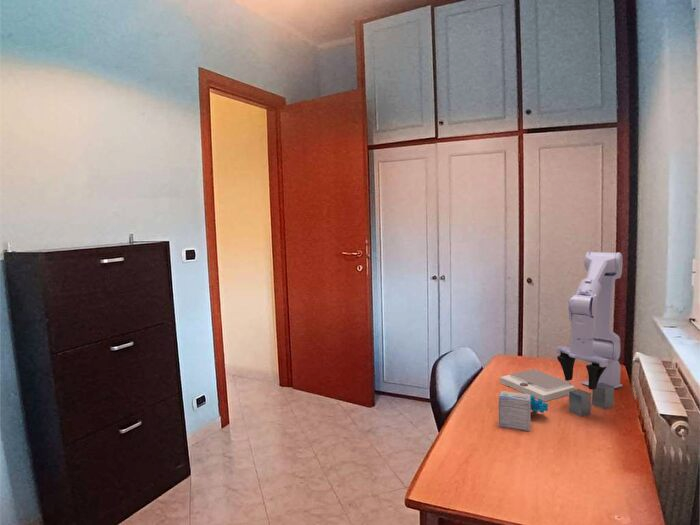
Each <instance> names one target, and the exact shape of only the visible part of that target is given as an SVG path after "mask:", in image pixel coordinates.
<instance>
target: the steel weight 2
mask: <svg viewBox="0 0 700 525" xmlns="http://www.w3.org/2000/svg"><path fill="white" fill-rule="evenodd" d="M591 391H592V392H591V405H592V406H596V407H598V408H600V409H603V410H607V409H611V408H614V406H615V388H614V386H611V385H608V384H605V383H602V382H601V383H598V384H597V387H596V389H593V390H591Z"/></svg>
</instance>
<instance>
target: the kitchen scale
mask: <svg viewBox="0 0 700 525" xmlns="http://www.w3.org/2000/svg"><path fill="white" fill-rule="evenodd" d="M499 383H500V384H502V385H504V386H506V387H508V386H509V387H508V388H510V389H513V390H515V389H516V390H515V391H518V392H519V393H524V394H529V395H532V396H535V400H538V399H542V400H543V403H546V402H549V401H552V400H556V399H559V398H562V397H567V396H569V391H573V390H576V385H575V386H574V385H573V384H572V382H571V381H566V380H565V379H561V377H560V378H559V377H557V376H554V375H551V374H548V373H546V372H542V371H541V370H537V369H535V368H532V369H528V370H524V371H520V372H515V373H511V374H507V375H503V376H500V377H499Z"/></svg>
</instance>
